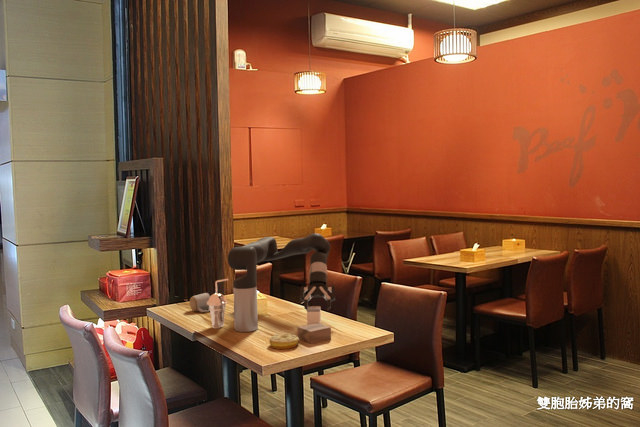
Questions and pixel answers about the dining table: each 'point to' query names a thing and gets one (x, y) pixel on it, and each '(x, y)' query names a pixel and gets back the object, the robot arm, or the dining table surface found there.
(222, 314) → the cup with straw
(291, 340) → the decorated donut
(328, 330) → the walnut block
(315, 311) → the canister
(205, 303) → the ceramic mug
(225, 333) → the dining table surface
